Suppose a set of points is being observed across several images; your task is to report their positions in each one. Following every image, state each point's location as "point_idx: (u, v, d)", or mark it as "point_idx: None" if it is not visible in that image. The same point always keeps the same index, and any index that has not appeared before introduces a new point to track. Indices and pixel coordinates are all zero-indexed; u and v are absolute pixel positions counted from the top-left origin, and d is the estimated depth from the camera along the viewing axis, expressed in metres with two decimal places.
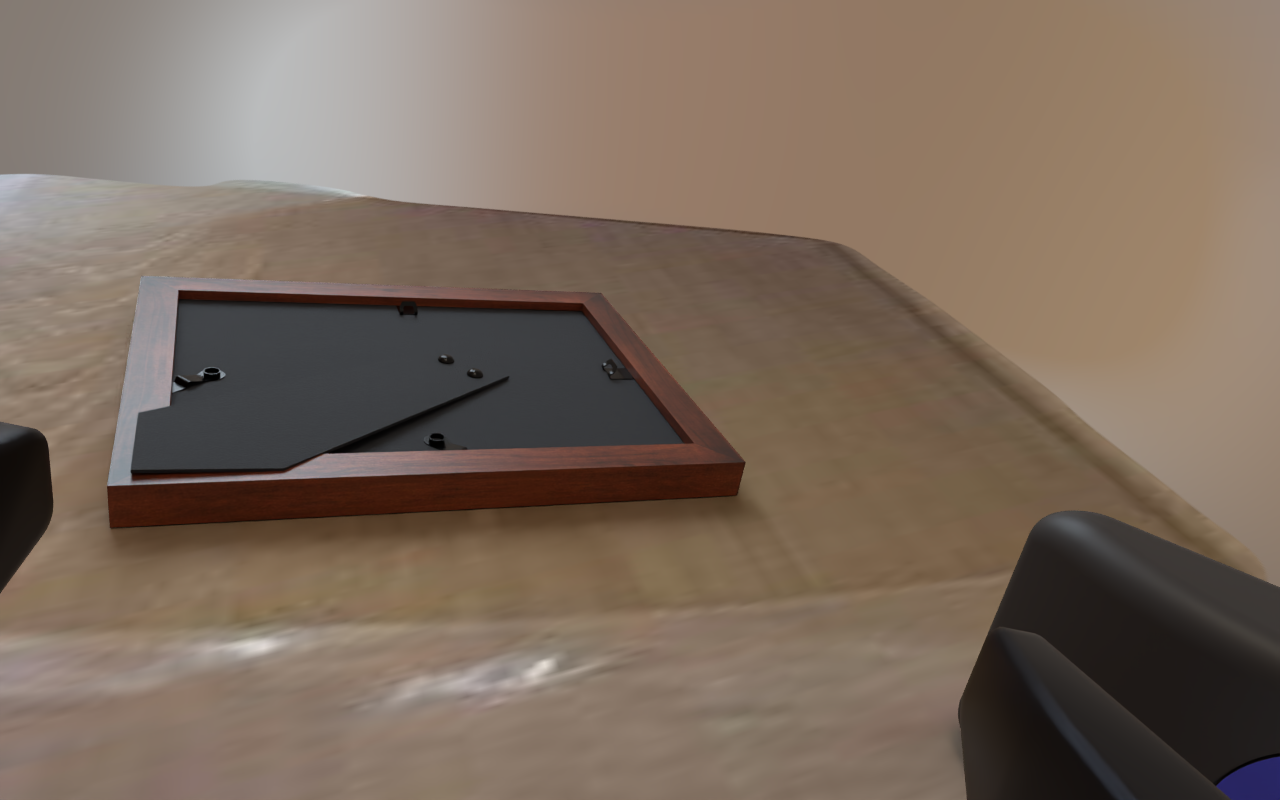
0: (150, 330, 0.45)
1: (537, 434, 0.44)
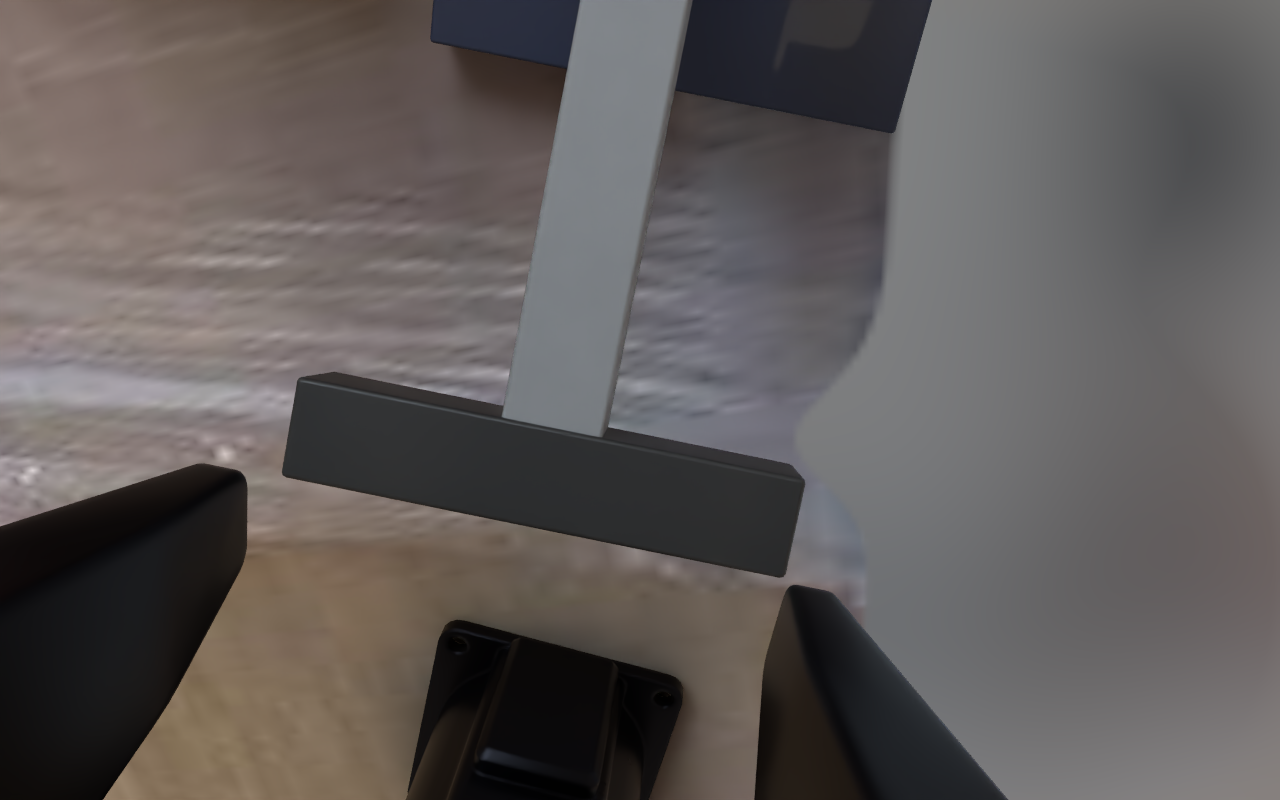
0: None
1: None
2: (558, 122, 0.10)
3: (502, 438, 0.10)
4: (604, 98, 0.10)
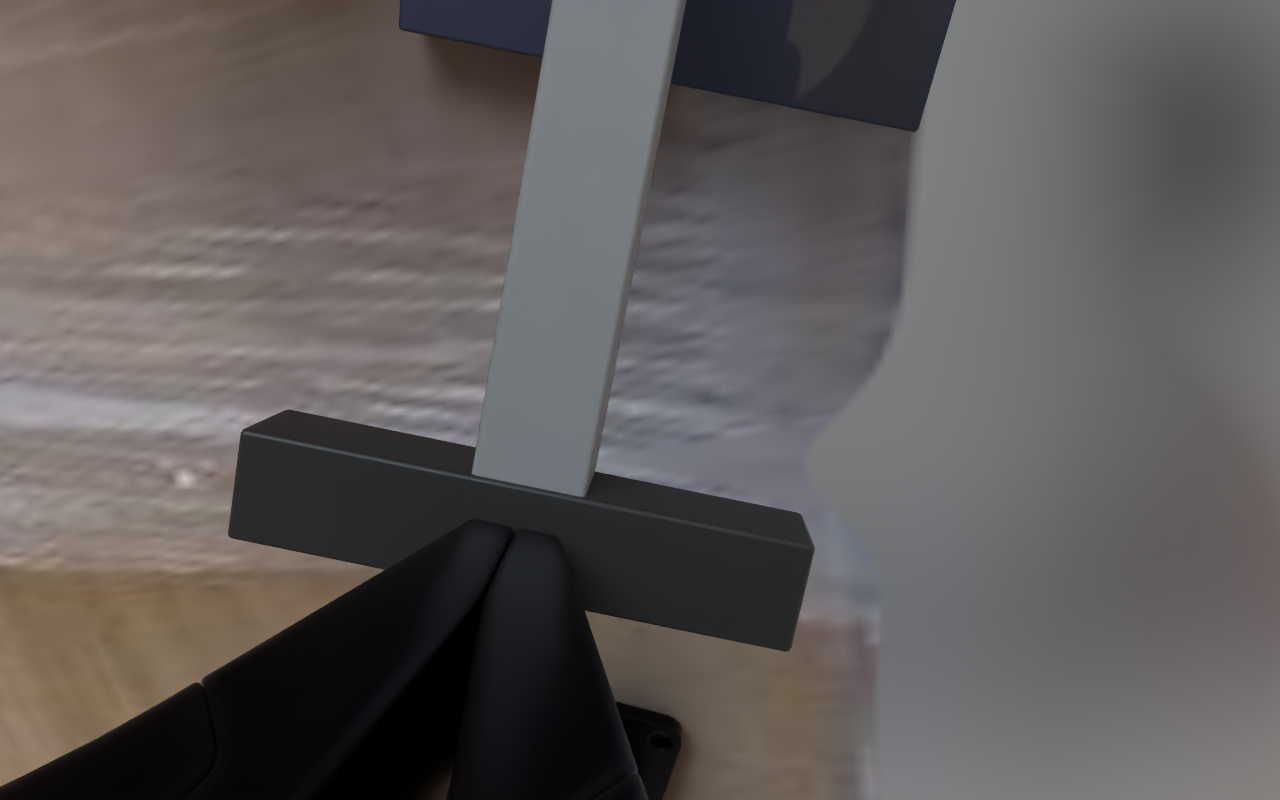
0: None
1: None
2: (530, 136, 0.09)
3: (472, 499, 0.09)
4: (582, 108, 0.09)
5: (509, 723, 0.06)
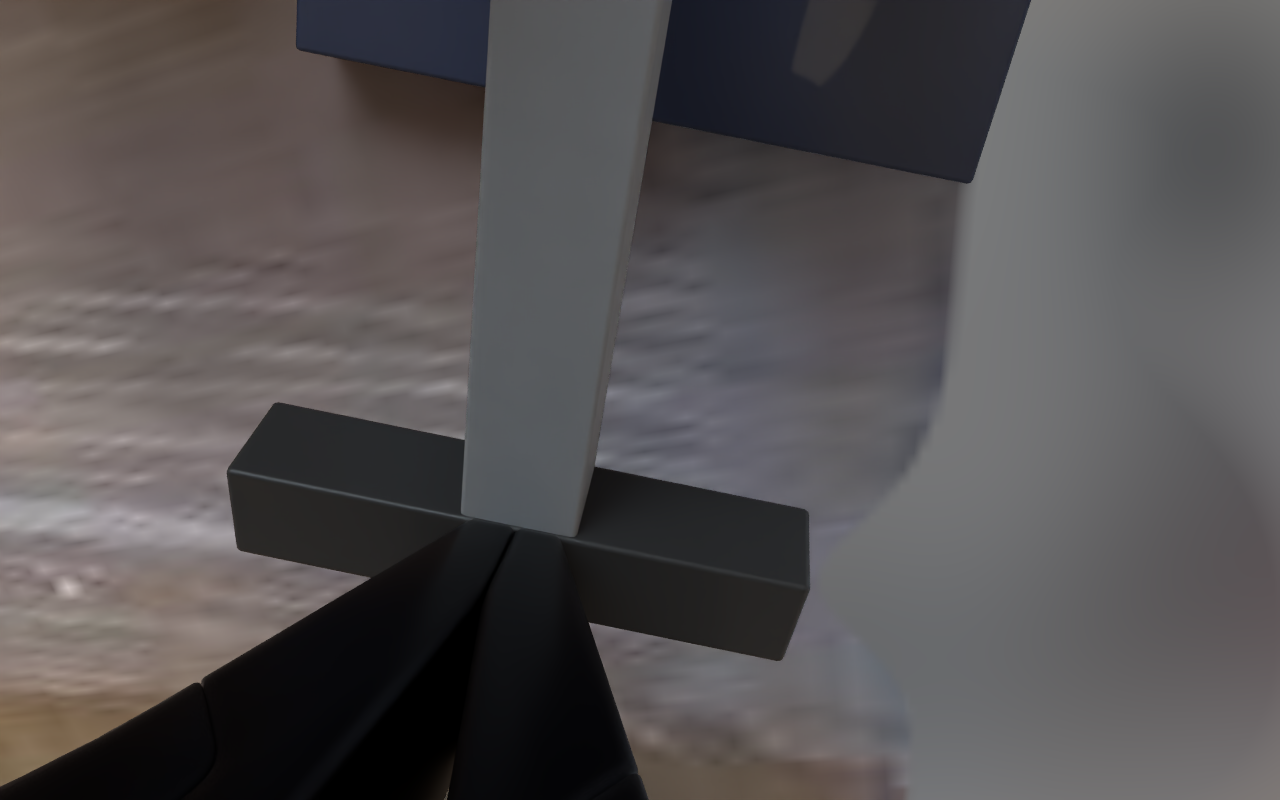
0: None
1: None
2: (480, 202, 0.07)
3: None
4: (538, 179, 0.07)
5: (509, 723, 0.06)
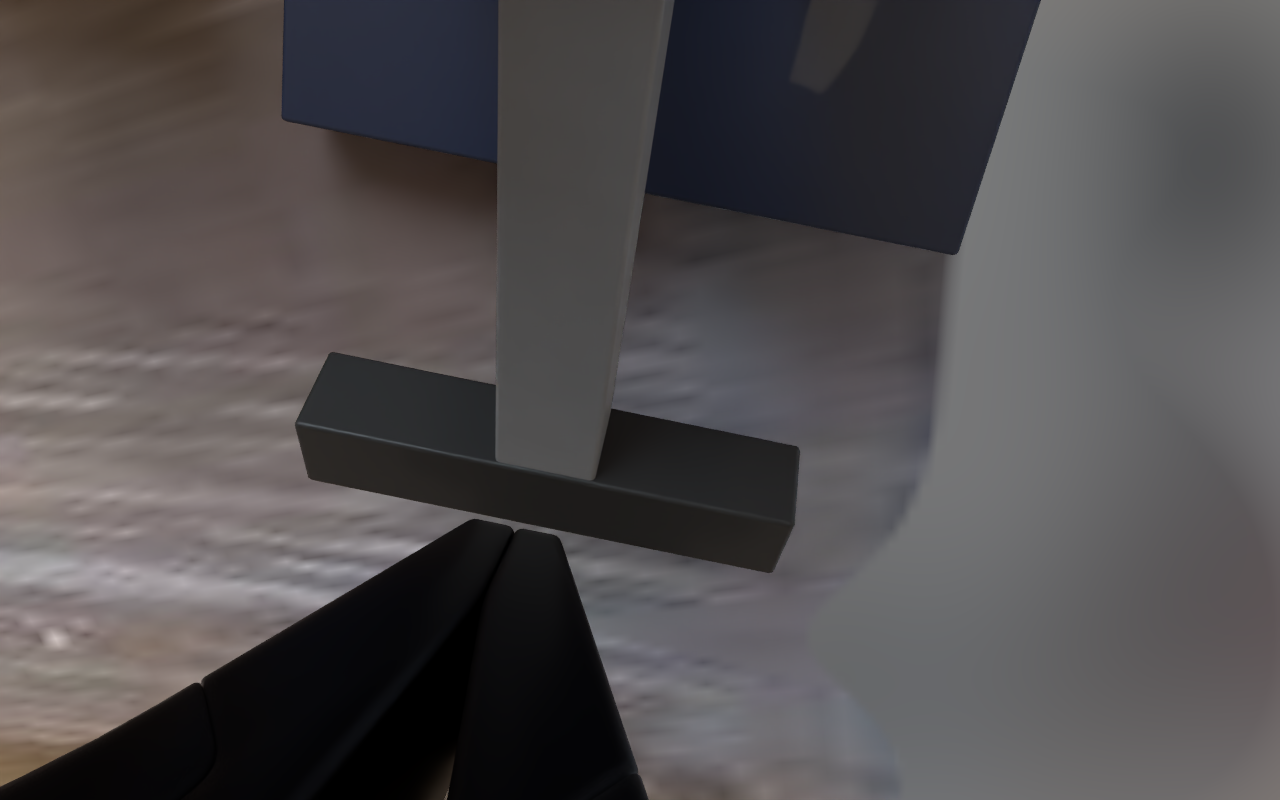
0: None
1: None
2: (498, 236, 0.08)
3: (498, 478, 0.11)
4: (548, 225, 0.08)
5: (509, 723, 0.06)
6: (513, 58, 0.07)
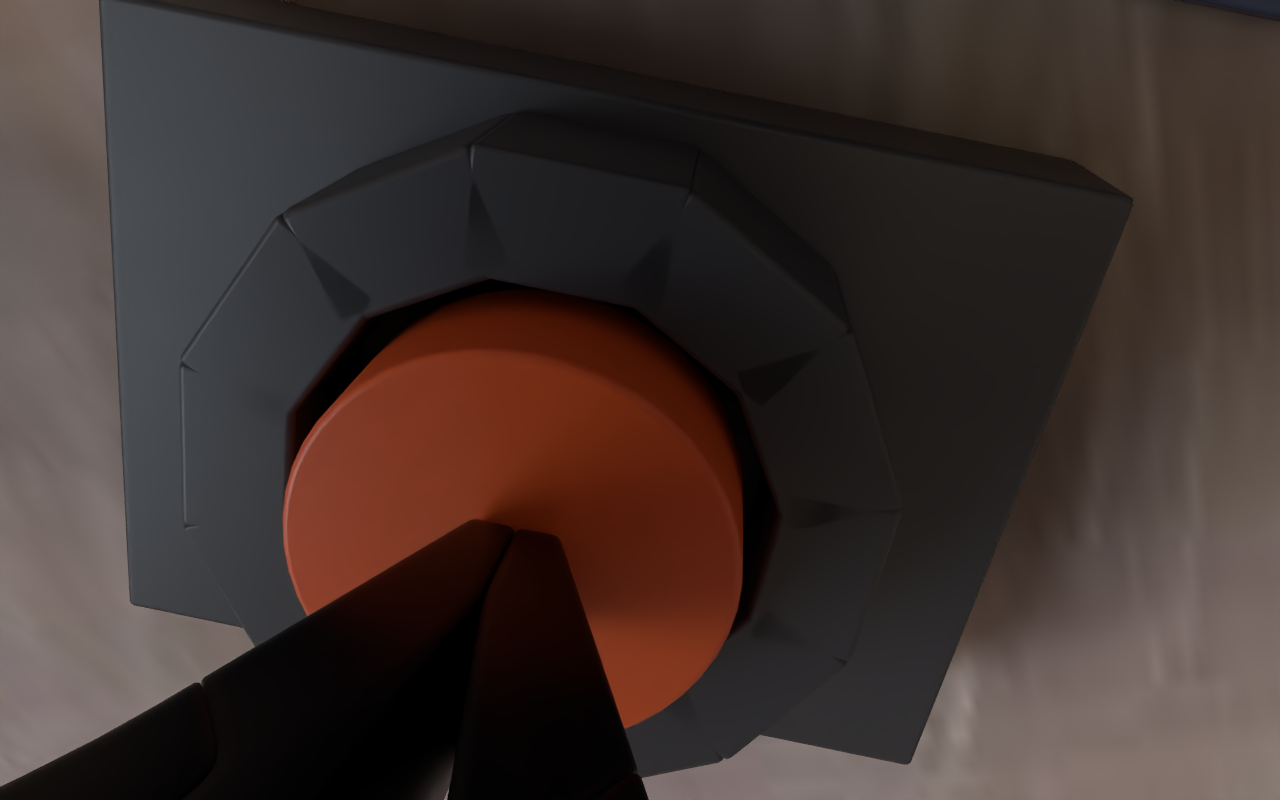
0: None
1: None
2: None
3: None
4: None
5: (509, 723, 0.06)
6: None
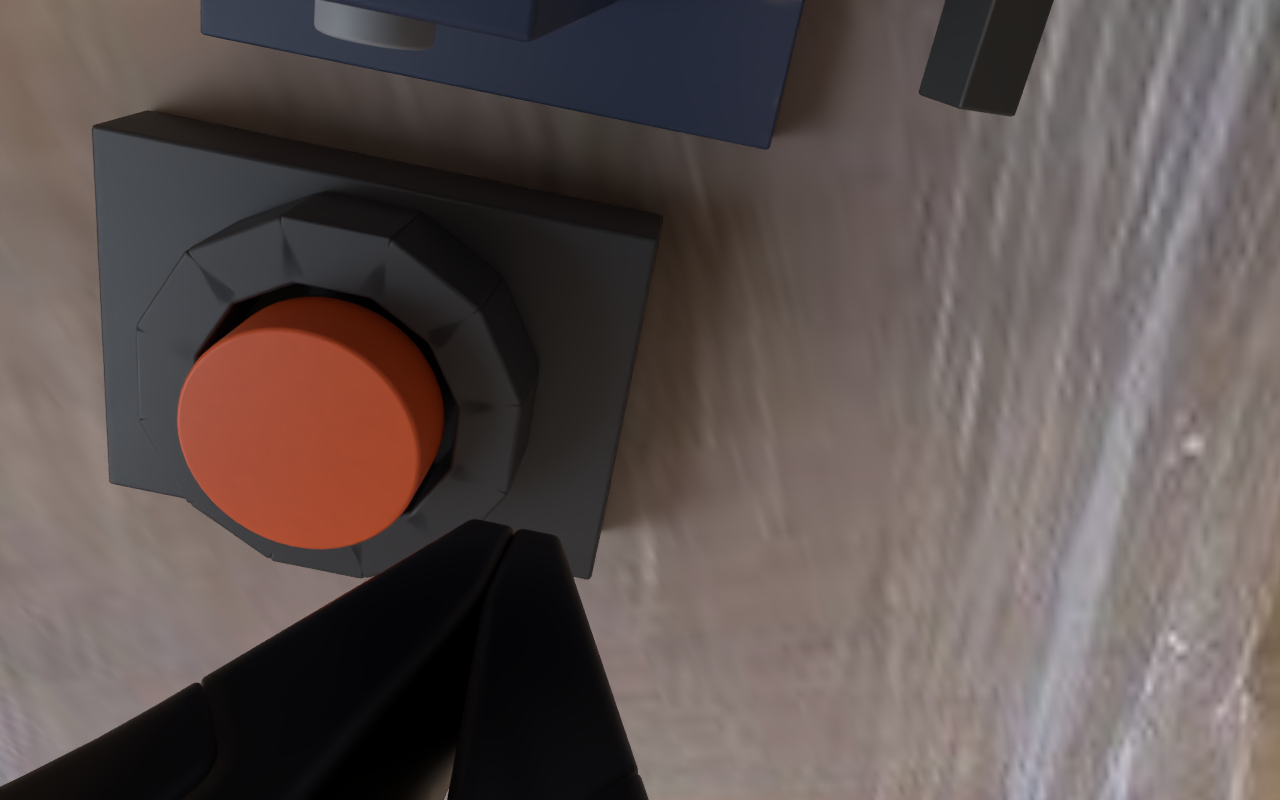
0: None
1: None
2: None
3: None
4: None
5: (509, 723, 0.06)
6: None
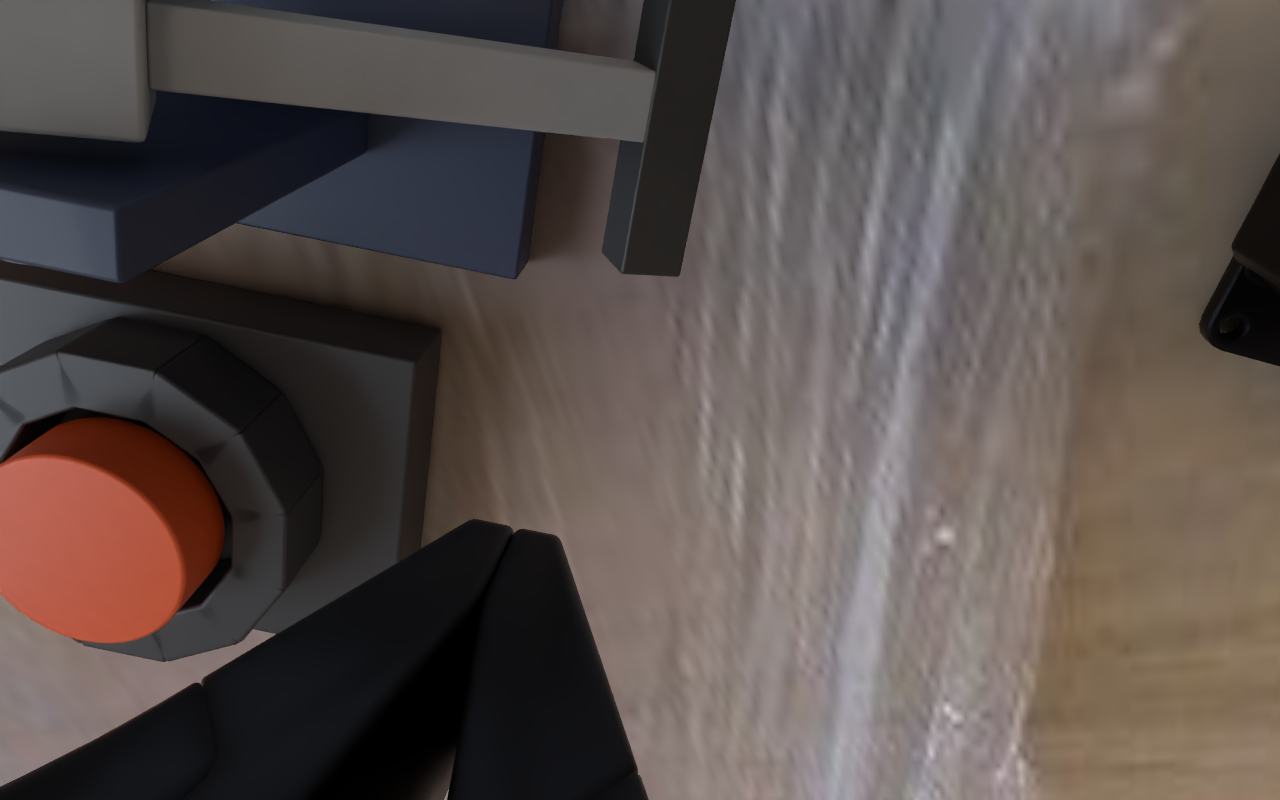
0: None
1: None
2: (444, 120, 0.15)
3: (657, 141, 0.16)
4: (426, 88, 0.14)
5: (509, 723, 0.06)
6: (319, 99, 0.14)
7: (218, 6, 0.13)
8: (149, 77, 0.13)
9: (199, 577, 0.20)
